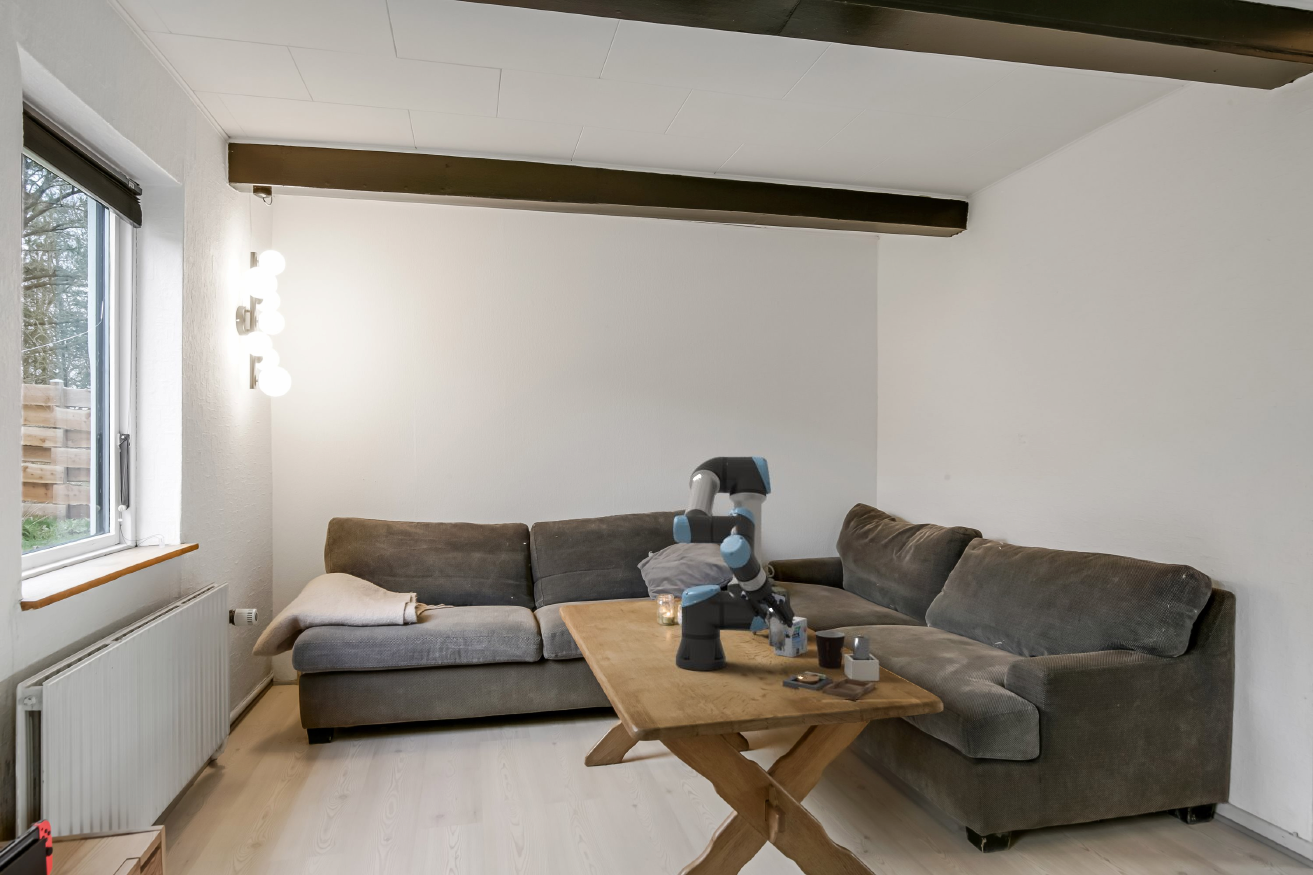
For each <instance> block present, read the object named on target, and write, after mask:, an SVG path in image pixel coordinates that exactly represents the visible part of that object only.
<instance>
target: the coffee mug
mask: <svg viewBox="0 0 1313 875" xmlns="http://www.w3.org/2000/svg"><path fill="white" fill-rule="evenodd" d="M814 636H815V642H816V651H817V661H818V666H819V668H823V669H828V670H833V669H841V668H842V664H843V663H842V662H843V657H844V656H843V654H844V647H845V646H844V645H845V636H846V634H845V633H843V632H842V631H837V630H836V631H835V630H820V631H819V630H818V631H816V632H815V633H814Z"/></svg>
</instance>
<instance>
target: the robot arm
mask: <svg viewBox="0 0 1313 875" xmlns="http://www.w3.org/2000/svg"><path fill="white" fill-rule="evenodd" d="M768 464H769V463H768V461H767V459H766V458H765V457H761V456H717V457H713V458H709V459H707V460H705V461H703V462H702V463H701V464H699V466H697V467H696V468H695V469H694V471H693V472H692V473H691V475H690V478H689V481H688V482H689V483H688V485H689V489H690V491H689V495H688V500H687V503H686V507H685V512H684V514H681V515H676V516H675V517H674V518H673V527H672V528H673V530H672V531H673V538H674V539H673V540H674V541H675V542H676V543H679V544H680V543H681V544H688V545H690V544H715V545H716V544H717V545H719V544H720V547H719V552H720V555H721V557H722V560H723V561H724V563H725V564H726V565H727V567H728V568H729V570H730V572H731V573H732V580H731V581H730V582H729V583H728V584H727V590H721V587H720V585H717V584H715V585H714V584H705V585H698V586H693V587H689V588H686V589H685V590H684V591H683V592H682V594H681V604H680V608H681V639H680V641H679V646H678V648H677V652H676V655H675V665H676V666H677V667H679V668H681V669H684V670H690V671H713V670H719V669H721V668H724V667H726V665H727V657H726V653H725V651H724V648H723V644H722V641H721V631H735V632H737V631H738V632H750V633H752V631H757V632H762V631H766V630H765V628H766V627H767V624H768V626H769V608H770V609H772V610H773V611H774V612H775V613H776V614H777V615H778V616H779V618H780V619H781V620H782V622H781V623H782V625H783V626H784V628H785V630H786V631H787V633H788V635H789V636H792V634H793V632H794V629H795V628H794V626H793V622H792V620H793V618H794V616H795V615H796V614H795V612H794V611H793V608H792V607H791V604H790V605H789V603H788V601H787V600H786V595H785V594H782V595H781V596H780V595H777V594H776V592H775V591H773V590H772V586H771V582H770V580H769V579H768V577H767V575H766V574H767V573H766V572H765V569H764V570H763V567H762V504H763V503H765V501H767V495H770V494H771V493H772V489H771V481H770V480H771V478H770V470H769V466H768ZM717 494H728V495H729V497H728V498H729V500H730V501H731V502H732V503H733V509H731V510H730V511H729V513H728V515H723V516H722V515H712V513H713V508H714V504H715V499H716V498H715V497H716V495H717Z"/></svg>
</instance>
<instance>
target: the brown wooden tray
mask: <svg viewBox="0 0 1313 875" xmlns="http://www.w3.org/2000/svg"><path fill="white" fill-rule="evenodd" d="M875 688H876V682H872V681H861V680H856V679H850V678H849V677H842V678H840V679H838V680H835V681H834V682H832V683H830V684H828V685H826V686H824V687H822V694H826V695H832V696H835V697H840V698H844V699H843V700H845V701H848V702H849V701H850V702H857V701H859V700H860V699H859V698H860V697H862V696H864V695H865V694H867V693H868V692H871V691H872V690H874V689H875Z"/></svg>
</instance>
